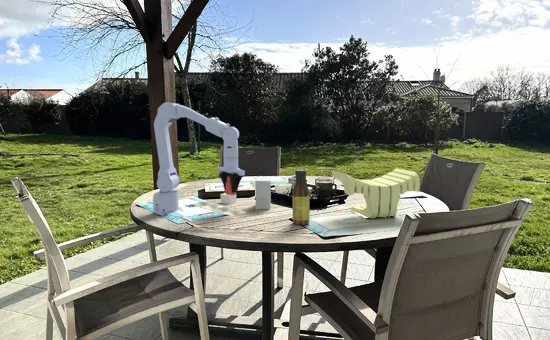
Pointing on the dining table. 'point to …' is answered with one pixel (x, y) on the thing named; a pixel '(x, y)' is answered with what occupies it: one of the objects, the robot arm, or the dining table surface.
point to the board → (219, 208)
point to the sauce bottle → (301, 199)
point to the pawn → (229, 187)
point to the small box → (263, 193)
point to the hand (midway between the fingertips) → (230, 191)
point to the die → (228, 198)
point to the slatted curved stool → (380, 191)
